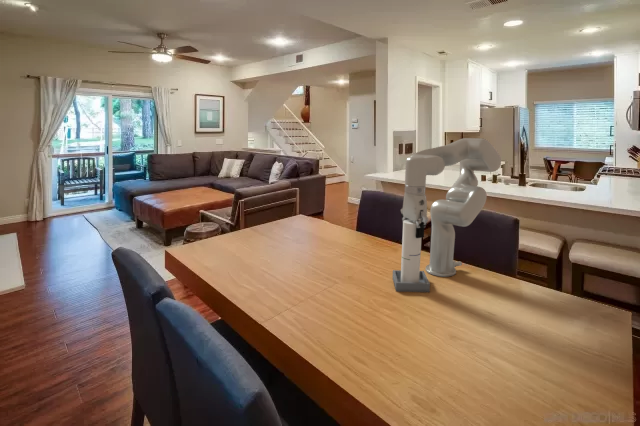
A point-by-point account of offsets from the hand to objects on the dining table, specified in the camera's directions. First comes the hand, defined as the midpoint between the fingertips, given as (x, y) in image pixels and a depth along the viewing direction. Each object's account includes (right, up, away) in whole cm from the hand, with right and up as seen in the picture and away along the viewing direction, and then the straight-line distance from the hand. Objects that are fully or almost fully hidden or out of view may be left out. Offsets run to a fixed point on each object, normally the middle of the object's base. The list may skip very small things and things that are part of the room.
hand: (412, 234), depth 139 cm
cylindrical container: (0, -20, +5) cm, 20 cm away
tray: (0, -20, +5) cm, 21 cm away
